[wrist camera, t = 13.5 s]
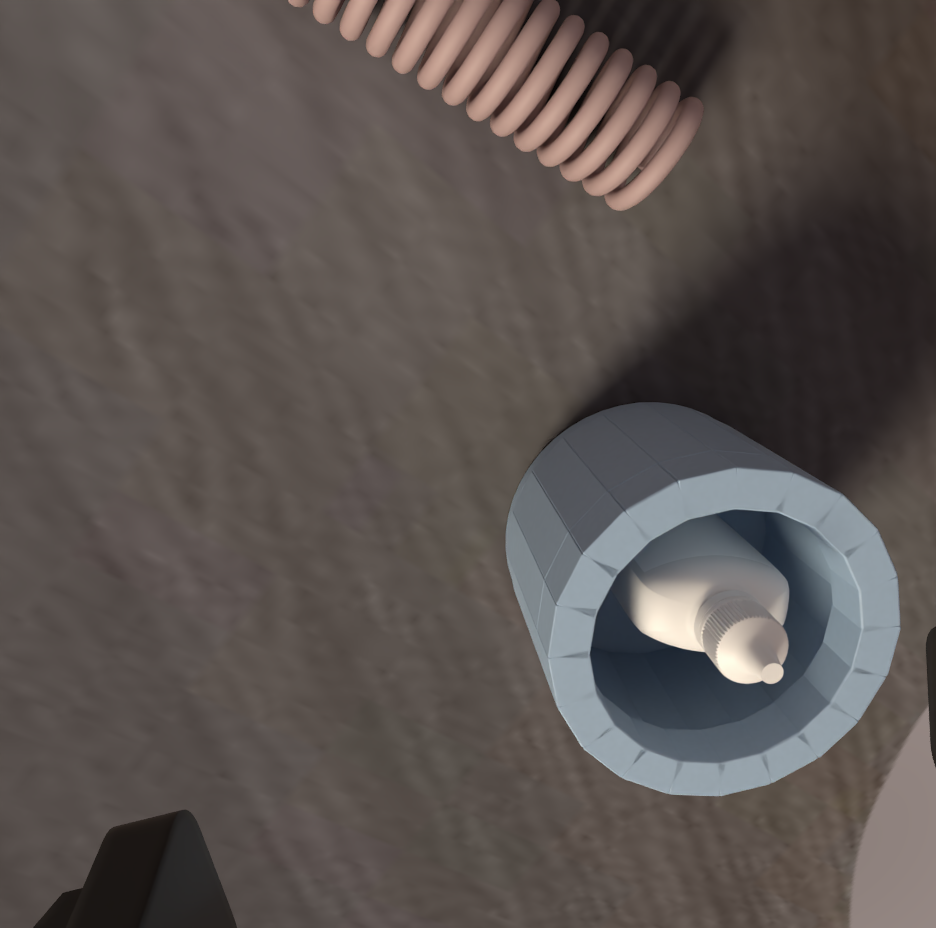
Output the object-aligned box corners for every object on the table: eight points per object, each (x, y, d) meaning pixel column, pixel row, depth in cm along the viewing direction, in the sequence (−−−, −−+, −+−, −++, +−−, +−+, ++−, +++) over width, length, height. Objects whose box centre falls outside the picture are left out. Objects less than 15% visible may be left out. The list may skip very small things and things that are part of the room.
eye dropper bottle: (624, 458, 36) (741, 572, 24) (728, 519, 37) (886, 654, 26) (568, 543, 37) (656, 692, 25) (672, 599, 38) (801, 766, 27)
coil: (735, 95, 29) (245, -248, 25) (665, 219, 29) (172, -98, 25) (680, 123, 33) (258, -164, 29) (621, 230, 34) (196, -38, 30)
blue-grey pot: (481, 435, 36) (520, 515, 26) (756, 374, 36) (892, 431, 27) (531, 681, 39) (580, 830, 30) (780, 622, 40) (908, 751, 30)
